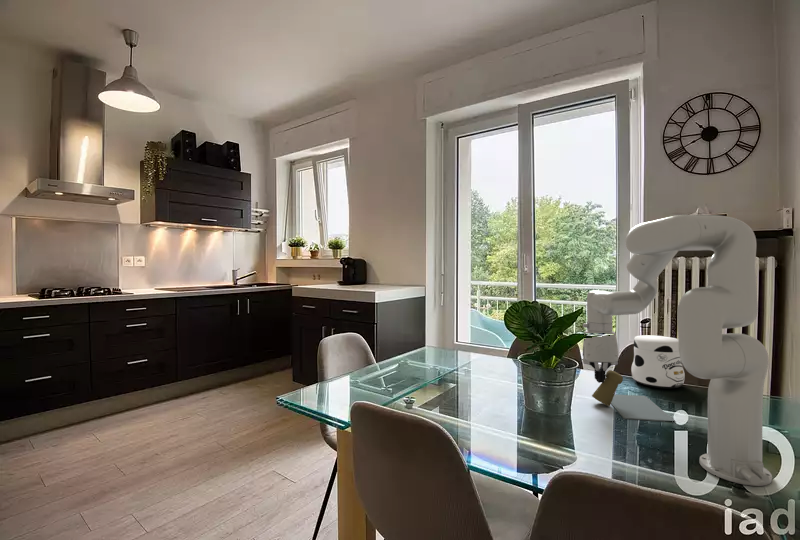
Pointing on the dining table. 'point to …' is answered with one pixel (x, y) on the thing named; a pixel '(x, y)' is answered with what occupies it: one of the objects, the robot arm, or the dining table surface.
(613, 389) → the cork
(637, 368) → the milk container
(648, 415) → the mat
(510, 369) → the dining table surface
